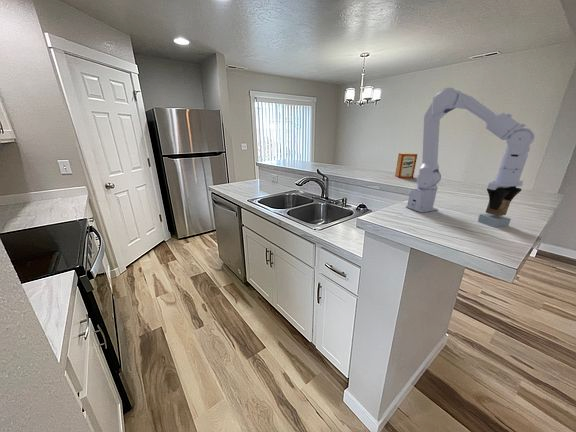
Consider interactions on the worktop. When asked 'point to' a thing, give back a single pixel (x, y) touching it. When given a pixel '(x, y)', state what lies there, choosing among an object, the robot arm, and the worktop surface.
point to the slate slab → (494, 220)
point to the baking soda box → (406, 165)
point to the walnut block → (501, 210)
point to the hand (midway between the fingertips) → (497, 208)
